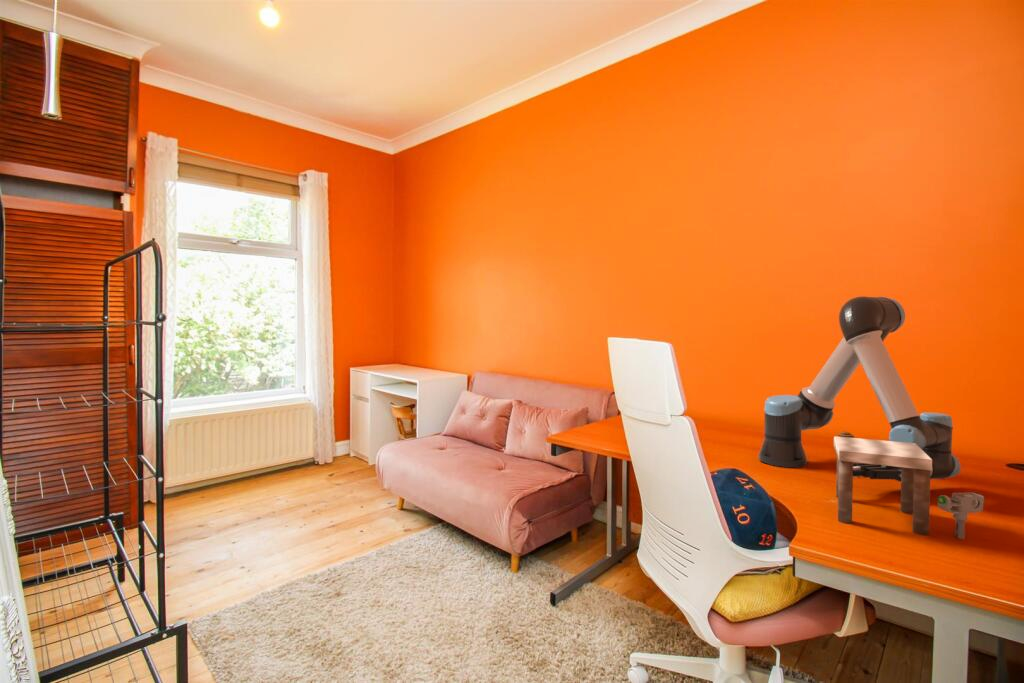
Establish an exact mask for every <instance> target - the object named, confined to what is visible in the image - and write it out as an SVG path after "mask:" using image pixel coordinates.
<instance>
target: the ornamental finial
mask: <svg viewBox="0 0 1024 683" xmlns="http://www.w3.org/2000/svg"><path fill="white" fill-rule="evenodd" d="M836 437H848V438H856V437H855V435H854V434H853V433H851V432H850V431H845V430H843V431H841V432H839V433H838V434H837V435H836ZM833 449H834V452H836V450H835V447H834V446H833Z"/></svg>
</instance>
